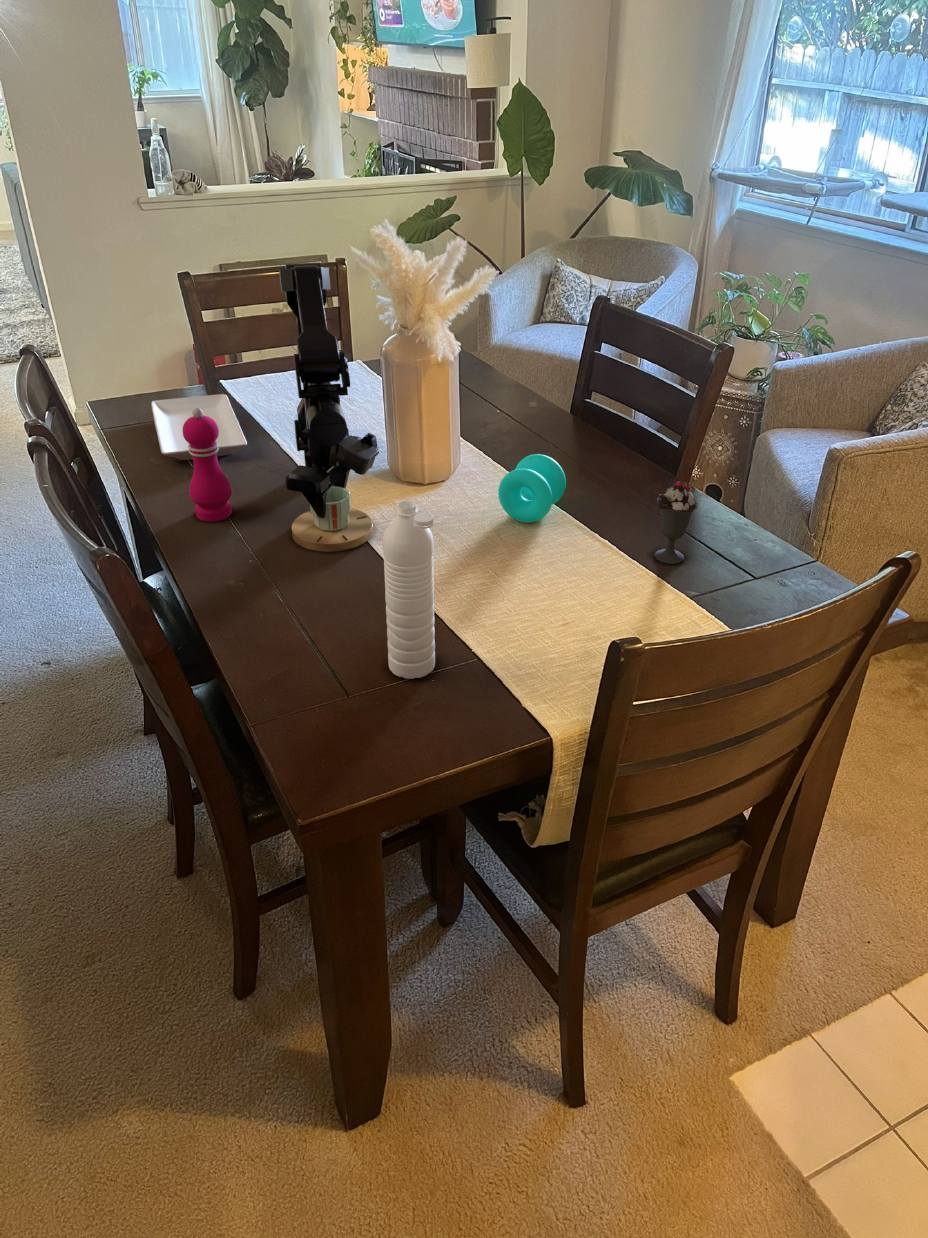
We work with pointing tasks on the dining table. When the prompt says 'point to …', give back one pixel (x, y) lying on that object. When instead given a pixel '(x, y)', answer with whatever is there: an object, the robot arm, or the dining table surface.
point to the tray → (179, 410)
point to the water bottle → (410, 592)
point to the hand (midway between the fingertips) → (330, 508)
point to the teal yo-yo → (532, 488)
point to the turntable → (332, 533)
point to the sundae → (674, 519)
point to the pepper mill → (206, 469)
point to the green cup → (334, 510)
